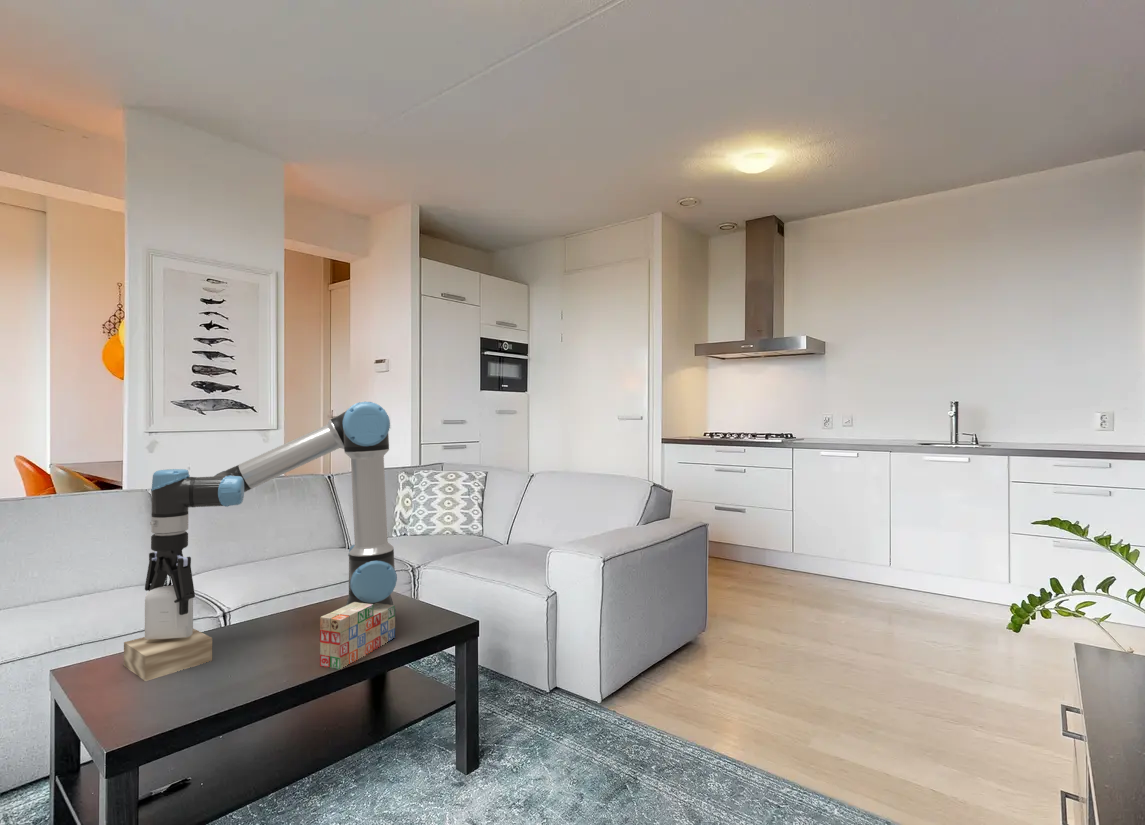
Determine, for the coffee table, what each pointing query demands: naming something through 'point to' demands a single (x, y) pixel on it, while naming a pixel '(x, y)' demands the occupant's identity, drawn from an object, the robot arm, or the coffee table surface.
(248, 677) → the coffee table surface
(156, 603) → the photo printer
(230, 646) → the coffee table surface
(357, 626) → the stack of blocks
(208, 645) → the birch box
